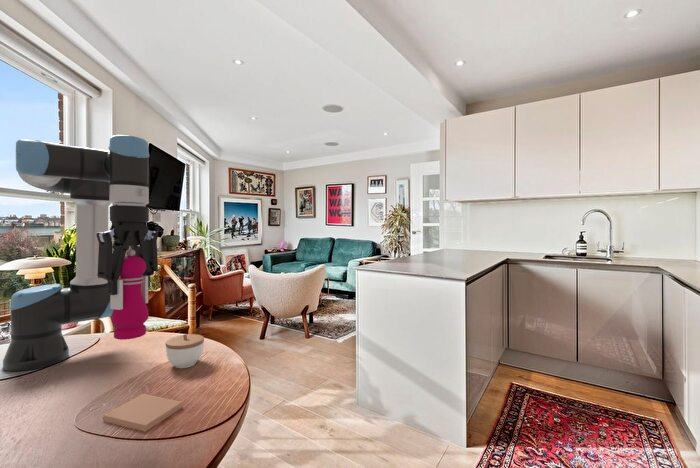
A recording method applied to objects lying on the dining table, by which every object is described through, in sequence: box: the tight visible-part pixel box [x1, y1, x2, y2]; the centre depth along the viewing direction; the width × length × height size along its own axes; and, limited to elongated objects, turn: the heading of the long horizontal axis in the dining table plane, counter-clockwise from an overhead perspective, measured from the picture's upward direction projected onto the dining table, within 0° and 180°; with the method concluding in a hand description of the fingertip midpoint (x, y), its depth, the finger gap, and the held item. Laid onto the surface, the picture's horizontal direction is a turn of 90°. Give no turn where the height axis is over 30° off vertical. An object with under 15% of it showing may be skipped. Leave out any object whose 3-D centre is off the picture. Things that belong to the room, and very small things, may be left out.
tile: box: [102, 393, 183, 433], centre depth 77 cm, size 2×10×12 cm
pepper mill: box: [110, 248, 149, 340], centre depth 78 cm, size 7×7×20 cm
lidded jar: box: [165, 333, 205, 369], centre depth 104 cm, size 11×11×9 cm
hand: (130, 305), depth 78 cm, fingers closed on pepper mill, 6 cm apart
